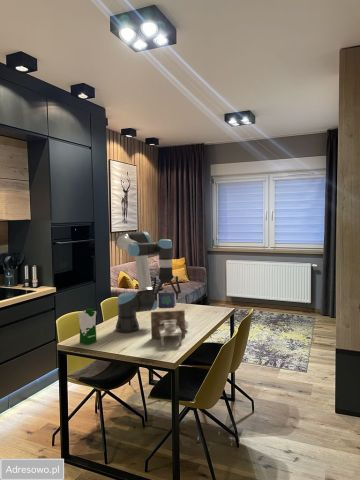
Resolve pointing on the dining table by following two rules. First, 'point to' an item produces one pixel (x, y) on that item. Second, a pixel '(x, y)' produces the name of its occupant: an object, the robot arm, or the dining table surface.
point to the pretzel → (186, 324)
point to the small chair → (168, 325)
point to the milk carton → (87, 326)
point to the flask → (166, 299)
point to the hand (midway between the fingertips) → (166, 305)
